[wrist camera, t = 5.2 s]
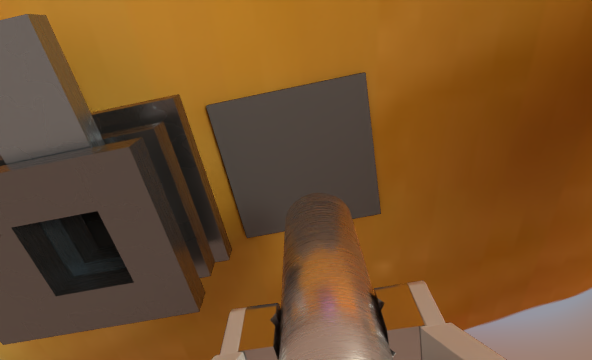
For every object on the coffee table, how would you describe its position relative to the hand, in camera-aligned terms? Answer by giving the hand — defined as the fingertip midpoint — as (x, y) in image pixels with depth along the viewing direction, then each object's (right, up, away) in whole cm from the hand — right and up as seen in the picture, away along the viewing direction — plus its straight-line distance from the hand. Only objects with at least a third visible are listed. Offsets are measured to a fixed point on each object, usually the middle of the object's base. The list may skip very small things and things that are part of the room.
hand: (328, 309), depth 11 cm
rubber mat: (-1, +5, +12) cm, 13 cm away
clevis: (-14, +5, +12) cm, 19 cm away
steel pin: (0, +2, +5) cm, 5 cm away
